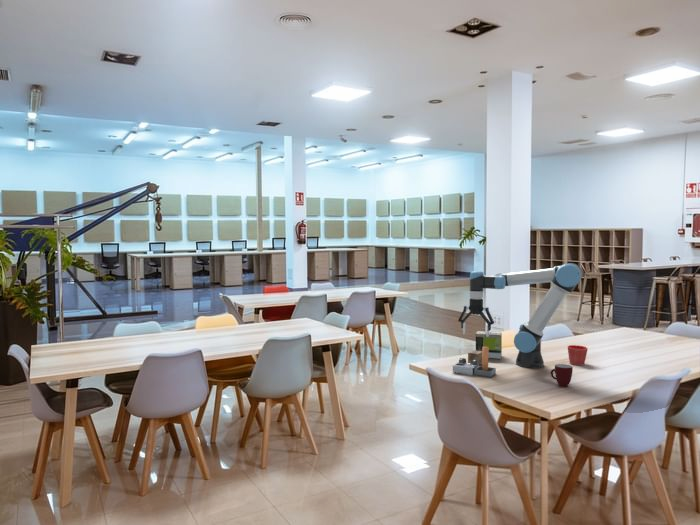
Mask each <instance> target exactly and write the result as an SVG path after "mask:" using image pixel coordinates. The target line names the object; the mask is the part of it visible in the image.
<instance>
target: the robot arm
mask: <svg viewBox="0 0 700 525" xmlns="http://www.w3.org/2000/svg"><path fill="white" fill-rule="evenodd" d="M582 277H583V270H582V268H581V267H580V265H578V264H576V263H573V262H567V263H564V264H561V265H555V266H554V267H552V268H550V267H549V268H542V269H534V270H525V271H516V272H515V271H514V272H507V273H505V272H504V273H497V274H494V275H491V274H490V275H489V274H488V275H486V274H484V271H482V270H481V271H479V270H478V271H477V270H474V271H473V270H472V271H471V272H470V274H469V306H468V305H464V306H463V311H462V312H461V314H460V316H459V318H458V320H457V321H458V322H460V323H461V324H460V326H461V329H462V335H465V334H466V325H467V323H466V321H467V320H468V318H469V317H470V316H472V315H479V316H480V317H481V318H482V319H483V320H484V321H485V323H486V331H485V332H486V337H488V336H489V332H491V330H492V329H491V328H492V325H494V324H495V321H494V318H493V316H492V315H491V313H490V309H489V307H488V306H487V307H484V289H491V290H492V289H493V290H504V289H505V288H506V287H513V286H521V285H522V286H523V285H534V284H545V283H551V286H550V288H549V290H548V291H547V293H546V294H545V296H544V298H543V299H542V300H541V301H540V303H539V305H538V307H537V308H536V310H535V311H534V312H533V314H532V316H531V317H530V319H529V320H528V321H527V322H524V323H523V324H520V325H519V330H518V332H517V333H516V334H515V336H514V338H513V344H514V346H515V348H516V349H517V350H518V353H517V356H516V359H515V365H517V366H519V367H524V368H531V369H532V368H533V369H534V368H537V369H538V368H542V367H544V366H545V361H544V359H543V358H544V357H543V354H542V338H543V336H544V332H543V331H544V330H545V328H546V327H547V325H548V323H549V322H550V320H551V319H552V317H553V316H554V315H555V312H556V311H557V310H558V308H559V307H560V305H561V303H563V300H565V298H566V296H567V295H568V294H572V293H573V292H574V289H575V288H576V287H577V285H578V284H579V282H580V281H581V279H583V278H582ZM468 310H469V312H468V313H467V314H466V312H467V311H468ZM483 311H485V313H486V315H487V316H486V315H485V314H484V312H483ZM465 314H466V316H465Z"/></svg>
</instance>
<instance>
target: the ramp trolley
mask: <svg viewBox="0 0 700 525" xmlns="http://www.w3.org/2000/svg"><path fill="white" fill-rule="evenodd" d="M479 366H480V365H479V362H478V360H472V362H471V364H469V363H468V362H467V358H464V357H460V358H459V360H458V362H455V363H454V364H453V365H452V373H453V372H456V373H455V374H458V373H462V374H461V375H465V374H468V375H467V376H472V375H473V376H475V375H474V369H476V368H477V367H479Z"/></svg>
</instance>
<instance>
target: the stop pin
mask: <svg viewBox="0 0 700 525" xmlns="http://www.w3.org/2000/svg"><path fill="white" fill-rule="evenodd" d="M488 354H489V347H482V364H481V366H482V370H483V371H488V367H489V358H488Z"/></svg>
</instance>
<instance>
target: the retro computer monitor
mask: <svg viewBox="0 0 700 525" xmlns="http://www.w3.org/2000/svg"><path fill="white" fill-rule="evenodd" d="M502 335H503V334H502V332H501V331H489V336H488V337H486V331H476V332H475V350H476V351H482V347H489V354H488V359H502V351H503V350H502V347H503V346H502V345H503V344H502V343H503V342H502Z"/></svg>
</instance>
